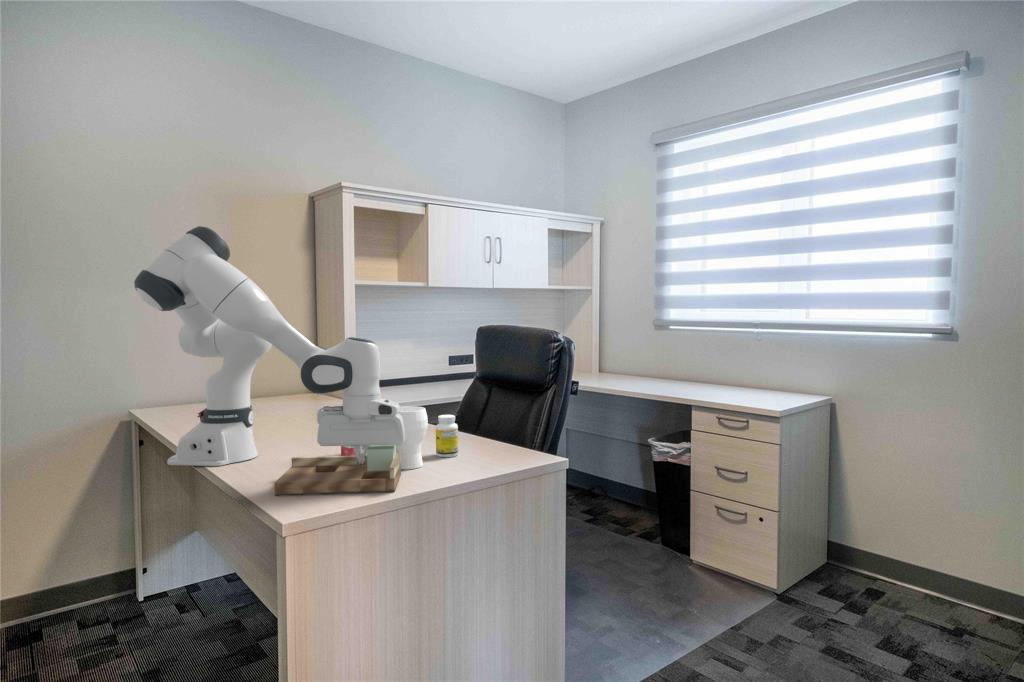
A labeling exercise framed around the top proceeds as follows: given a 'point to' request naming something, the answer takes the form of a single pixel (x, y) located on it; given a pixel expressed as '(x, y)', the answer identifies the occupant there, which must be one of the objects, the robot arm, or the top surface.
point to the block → (380, 457)
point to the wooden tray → (336, 477)
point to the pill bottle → (446, 436)
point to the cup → (412, 436)
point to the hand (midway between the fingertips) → (361, 463)
